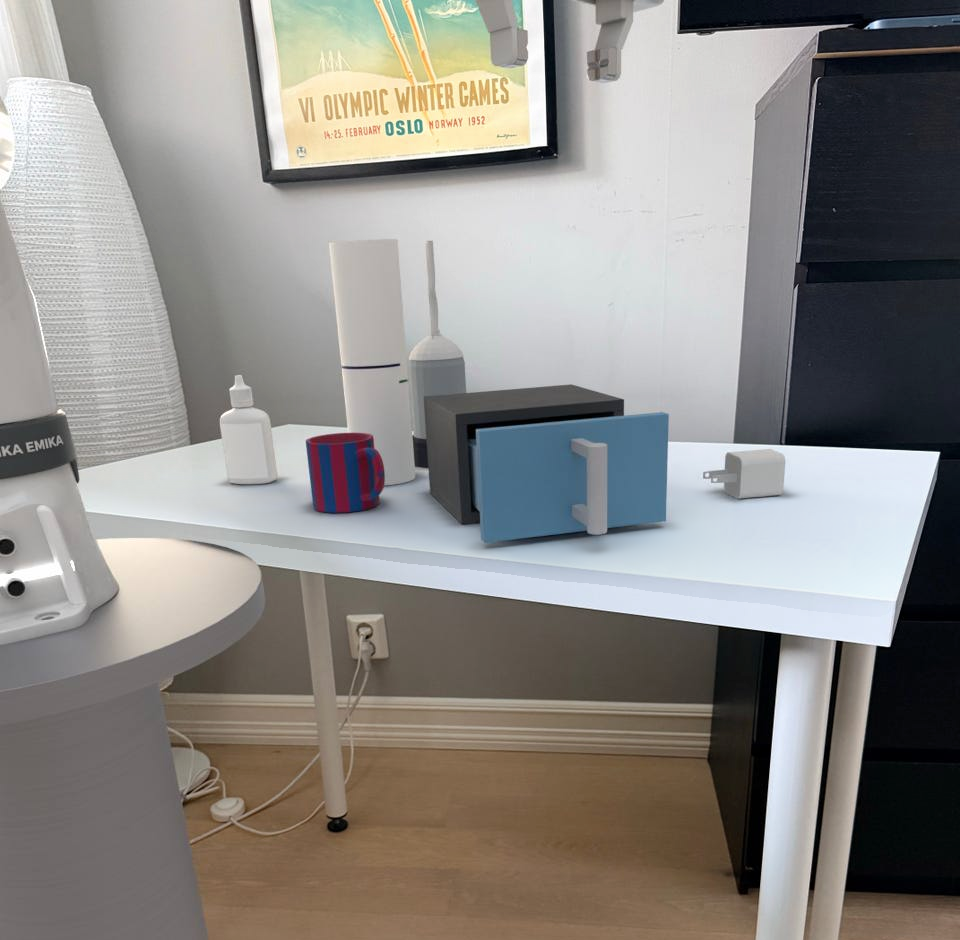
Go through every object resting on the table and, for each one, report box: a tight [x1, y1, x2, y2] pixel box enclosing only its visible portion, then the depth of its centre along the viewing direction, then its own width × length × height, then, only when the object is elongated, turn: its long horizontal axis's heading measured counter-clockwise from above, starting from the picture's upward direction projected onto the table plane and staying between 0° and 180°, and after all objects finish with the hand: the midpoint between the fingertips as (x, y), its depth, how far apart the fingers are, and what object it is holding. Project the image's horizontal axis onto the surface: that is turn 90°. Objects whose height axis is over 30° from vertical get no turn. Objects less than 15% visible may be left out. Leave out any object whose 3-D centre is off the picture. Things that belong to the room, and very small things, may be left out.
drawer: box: [468, 411, 670, 544], centre depth 81 cm, size 19×16×9 cm
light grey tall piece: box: [407, 240, 467, 468], centre depth 110 cm, size 8×8×25 cm
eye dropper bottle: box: [219, 374, 278, 485], centre depth 106 cm, size 4×6×12 cm
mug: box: [305, 432, 385, 514], centre depth 92 cm, size 7×10×7 cm
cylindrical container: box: [328, 238, 416, 486], centre depth 101 cm, size 7×7×25 cm
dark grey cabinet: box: [424, 384, 625, 525], centre depth 92 cm, size 14×16×10 cm
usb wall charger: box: [702, 448, 786, 500], centre depth 90 cm, size 4×7×4 cm, turn 99°
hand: (559, 74), depth 59 cm, fingers open, 8 cm apart
